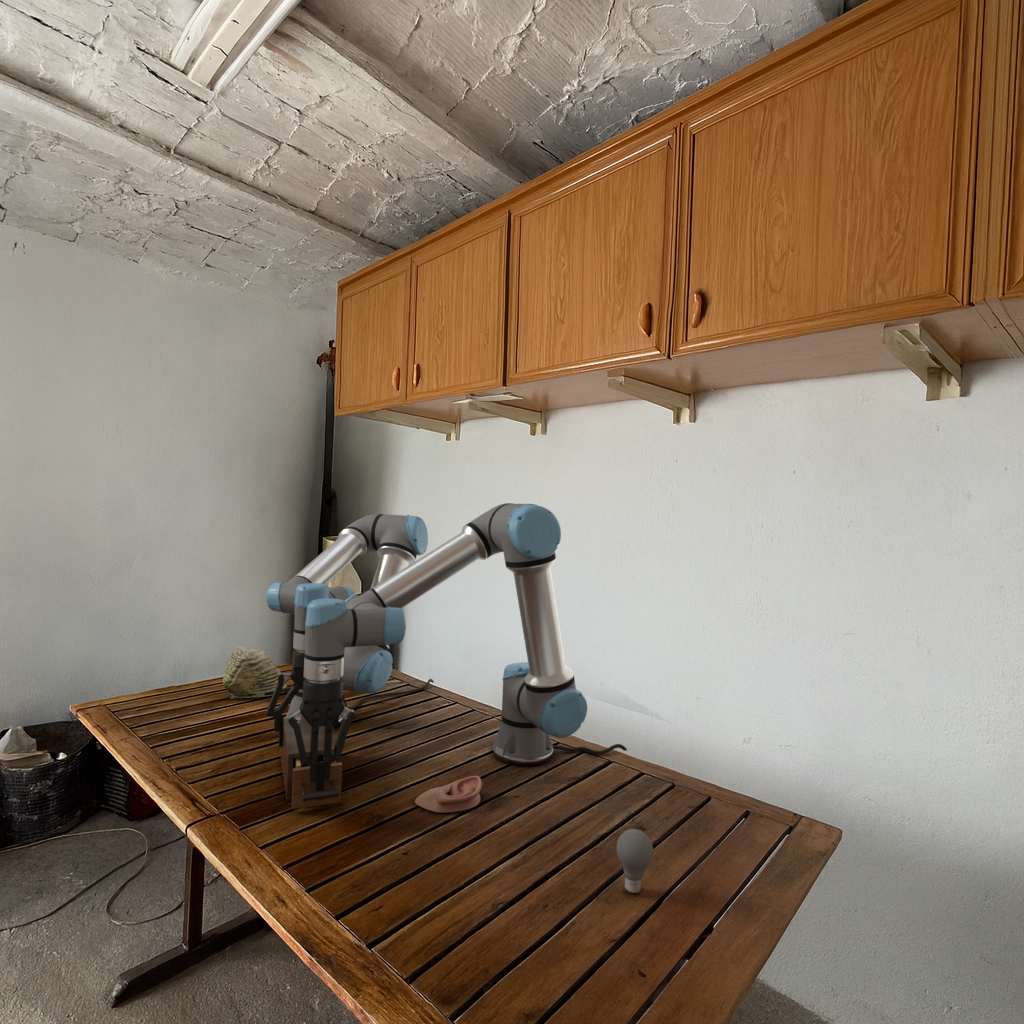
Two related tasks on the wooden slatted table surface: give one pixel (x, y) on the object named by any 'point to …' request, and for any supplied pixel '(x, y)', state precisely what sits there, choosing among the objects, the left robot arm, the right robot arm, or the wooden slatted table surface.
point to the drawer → (305, 789)
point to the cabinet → (292, 751)
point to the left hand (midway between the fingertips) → (306, 742)
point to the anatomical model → (452, 796)
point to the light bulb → (634, 857)
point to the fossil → (250, 674)
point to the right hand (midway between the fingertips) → (318, 796)
